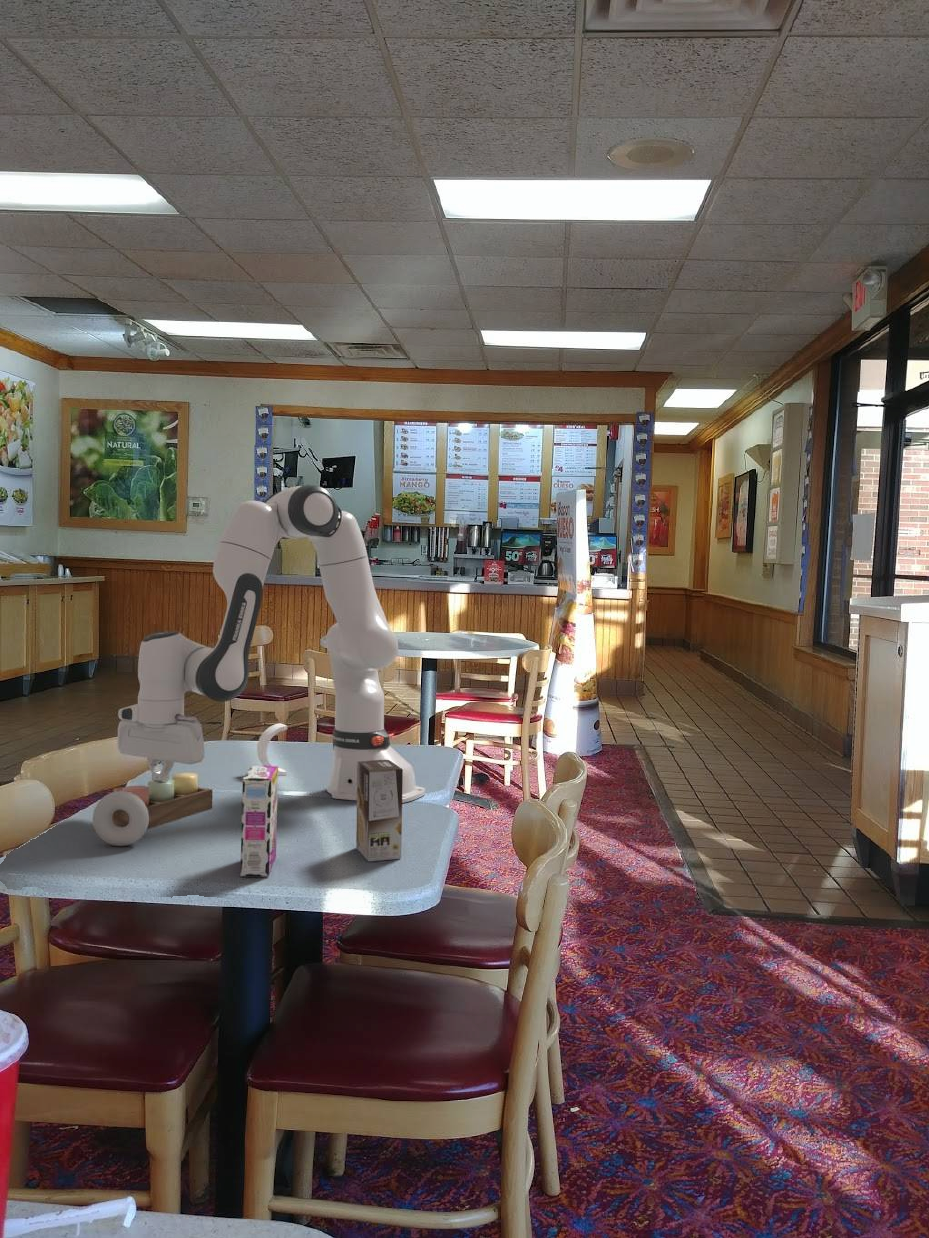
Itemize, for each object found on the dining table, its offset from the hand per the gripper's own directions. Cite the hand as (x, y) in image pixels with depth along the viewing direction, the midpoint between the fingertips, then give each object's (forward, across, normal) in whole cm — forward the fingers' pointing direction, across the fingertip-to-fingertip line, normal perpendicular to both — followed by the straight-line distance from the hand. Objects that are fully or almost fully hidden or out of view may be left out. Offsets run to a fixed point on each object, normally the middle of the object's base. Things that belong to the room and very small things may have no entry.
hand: (160, 781), depth 193 cm
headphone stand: (+8, +6, -43) cm, 44 cm away
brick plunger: (+4, 0, +7) cm, 8 cm away
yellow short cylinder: (+4, 0, -7) cm, 8 cm away
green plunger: (+4, 0, 0) cm, 4 cm away
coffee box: (+8, -50, -2) cm, 51 cm away
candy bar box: (+8, -37, +15) cm, 41 cm away
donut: (+8, -8, +18) cm, 21 cm away
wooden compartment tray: (+7, 0, 0) cm, 7 cm away
